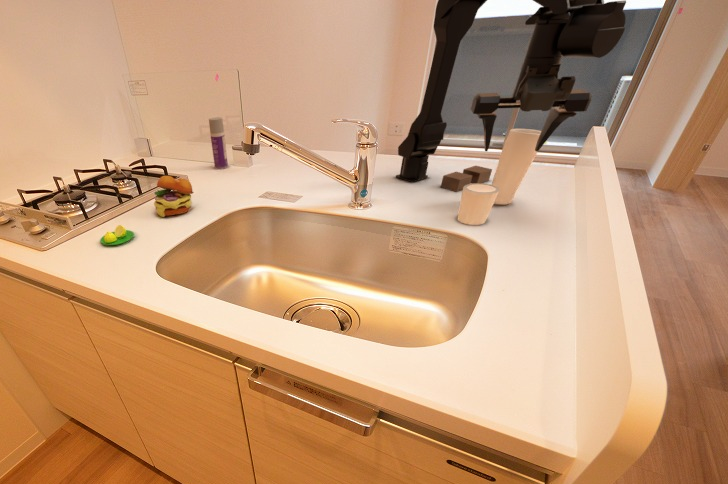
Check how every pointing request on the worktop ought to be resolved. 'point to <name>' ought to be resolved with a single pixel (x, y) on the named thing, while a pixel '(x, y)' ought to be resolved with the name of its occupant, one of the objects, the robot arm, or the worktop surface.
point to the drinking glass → (514, 162)
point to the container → (218, 142)
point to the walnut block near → (456, 181)
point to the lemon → (117, 236)
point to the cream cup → (476, 203)
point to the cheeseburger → (173, 196)
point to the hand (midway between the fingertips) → (510, 150)
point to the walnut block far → (478, 174)
